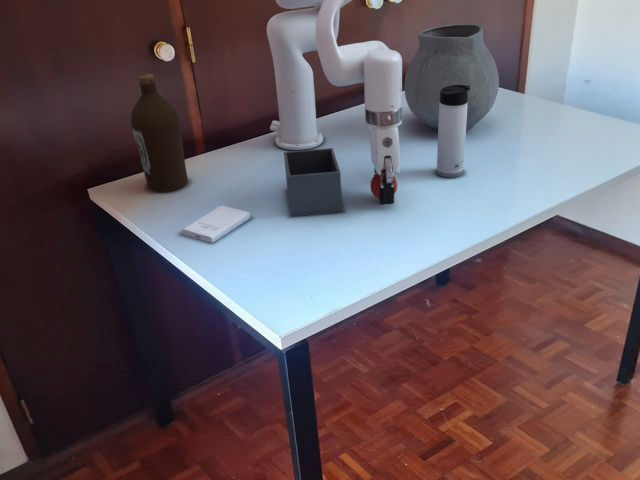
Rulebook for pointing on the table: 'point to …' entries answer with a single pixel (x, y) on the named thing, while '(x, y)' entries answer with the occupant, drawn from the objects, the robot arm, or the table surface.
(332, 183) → the grey drawer with handle
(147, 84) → the olive oil
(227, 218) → the hard drive
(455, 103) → the travel mug
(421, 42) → the ceramic pot
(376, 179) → the onion
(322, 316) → the table surface
